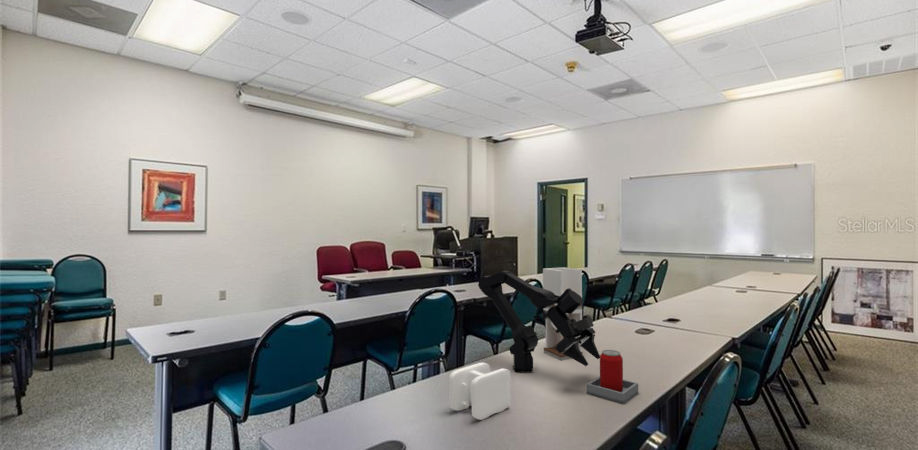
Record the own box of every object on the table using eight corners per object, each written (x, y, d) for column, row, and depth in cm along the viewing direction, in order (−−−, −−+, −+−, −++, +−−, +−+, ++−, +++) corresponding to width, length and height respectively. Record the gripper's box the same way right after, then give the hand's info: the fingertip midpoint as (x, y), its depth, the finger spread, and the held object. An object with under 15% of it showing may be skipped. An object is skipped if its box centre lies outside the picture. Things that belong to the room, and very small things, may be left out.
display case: (543, 352, 173) (543, 268, 173) (564, 349, 178) (563, 267, 178) (561, 360, 163) (560, 271, 163) (582, 356, 167) (581, 269, 168)
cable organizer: (473, 425, 110) (473, 380, 110) (447, 412, 118) (447, 370, 118) (511, 408, 120) (511, 368, 120) (485, 397, 127) (484, 359, 128)
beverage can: (618, 386, 133) (618, 349, 133) (626, 395, 127) (626, 355, 127) (597, 386, 134) (596, 349, 134) (603, 394, 127) (603, 355, 127)
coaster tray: (586, 393, 130) (586, 384, 130) (602, 383, 138) (602, 374, 138) (623, 404, 122) (623, 394, 122) (638, 392, 130) (638, 383, 130)
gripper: (564, 312, 131) (598, 354, 124) (590, 303, 145) (621, 341, 137) (542, 332, 136) (573, 374, 129) (569, 322, 150) (598, 360, 143)
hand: (593, 361), depth 134 cm, fingers open, 9 cm apart
